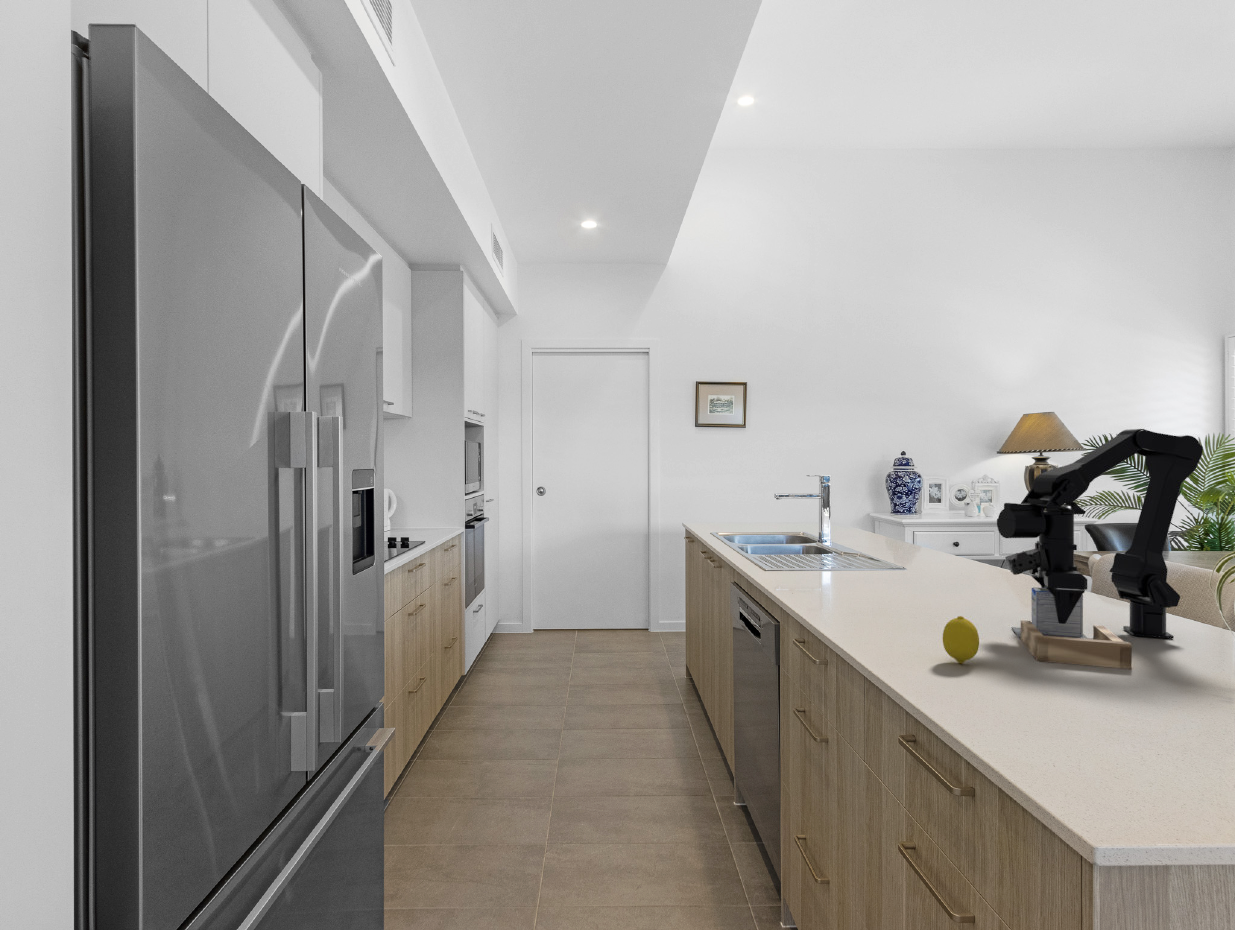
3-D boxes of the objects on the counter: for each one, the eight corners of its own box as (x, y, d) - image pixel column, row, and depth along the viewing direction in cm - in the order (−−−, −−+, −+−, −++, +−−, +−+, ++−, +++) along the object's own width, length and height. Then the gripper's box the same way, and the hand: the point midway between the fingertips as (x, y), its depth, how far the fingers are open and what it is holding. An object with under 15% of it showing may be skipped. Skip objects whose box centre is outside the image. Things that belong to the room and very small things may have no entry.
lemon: (983, 669, 113) (983, 620, 113) (947, 667, 115) (947, 619, 114) (973, 659, 119) (973, 613, 119) (938, 658, 120) (938, 611, 120)
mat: (1011, 628, 140) (1011, 627, 140) (1081, 633, 136) (1081, 632, 136) (1018, 638, 133) (1018, 636, 133) (1092, 643, 129) (1092, 642, 129)
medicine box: (1077, 633, 135) (1077, 589, 135) (1083, 639, 131) (1083, 593, 130) (1030, 630, 138) (1030, 586, 137) (1035, 635, 133) (1035, 590, 133)
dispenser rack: (1020, 638, 133) (1020, 617, 133) (1103, 644, 128) (1103, 623, 128) (1037, 660, 118) (1037, 637, 118) (1131, 668, 113) (1131, 644, 113)
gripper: (1001, 531, 146) (1001, 605, 146) (1017, 541, 128) (1017, 625, 128) (1063, 533, 142) (1063, 609, 142) (1088, 543, 124) (1088, 630, 124)
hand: (1056, 618), depth 134 cm, fingers open, 9 cm apart
